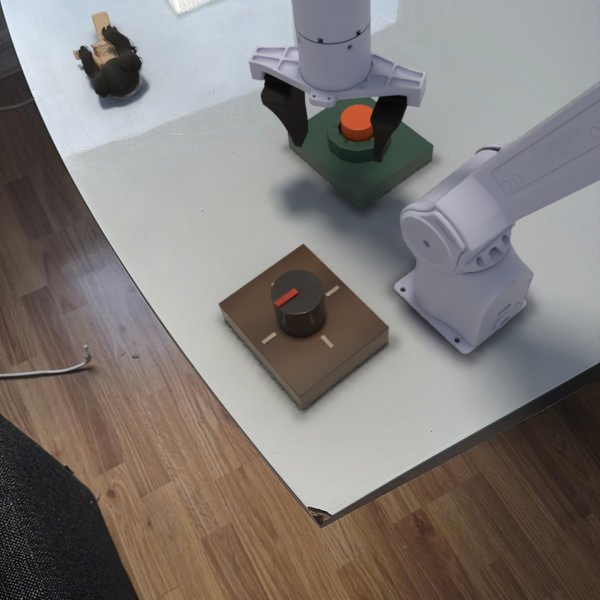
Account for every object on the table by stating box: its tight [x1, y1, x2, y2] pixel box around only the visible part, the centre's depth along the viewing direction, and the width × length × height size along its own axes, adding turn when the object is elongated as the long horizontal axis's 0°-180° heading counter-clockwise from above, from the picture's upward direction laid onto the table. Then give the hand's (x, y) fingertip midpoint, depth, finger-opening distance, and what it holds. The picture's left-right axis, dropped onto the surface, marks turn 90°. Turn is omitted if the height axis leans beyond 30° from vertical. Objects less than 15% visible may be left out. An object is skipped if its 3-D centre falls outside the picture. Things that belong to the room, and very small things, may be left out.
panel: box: [218, 243, 390, 410], centre depth 60 cm, size 12×10×3 cm
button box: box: [287, 97, 434, 211], centre depth 70 cm, size 12×10×4 cm
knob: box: [271, 270, 326, 337], centre depth 57 cm, size 4×4×4 cm
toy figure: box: [72, 11, 143, 100], centre depth 80 cm, size 7×6×15 cm
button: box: [341, 105, 373, 142], centre depth 68 cm, size 4×4×2 cm
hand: (340, 146), depth 61 cm, fingers open, 7 cm apart
